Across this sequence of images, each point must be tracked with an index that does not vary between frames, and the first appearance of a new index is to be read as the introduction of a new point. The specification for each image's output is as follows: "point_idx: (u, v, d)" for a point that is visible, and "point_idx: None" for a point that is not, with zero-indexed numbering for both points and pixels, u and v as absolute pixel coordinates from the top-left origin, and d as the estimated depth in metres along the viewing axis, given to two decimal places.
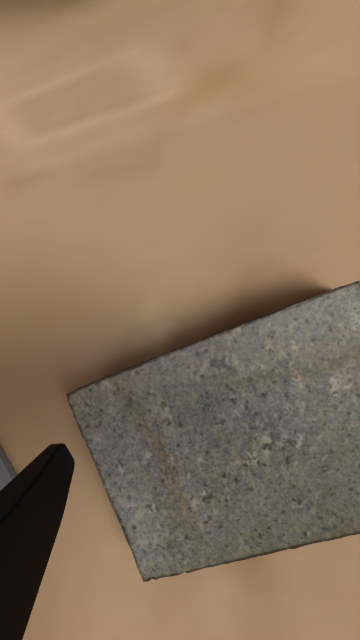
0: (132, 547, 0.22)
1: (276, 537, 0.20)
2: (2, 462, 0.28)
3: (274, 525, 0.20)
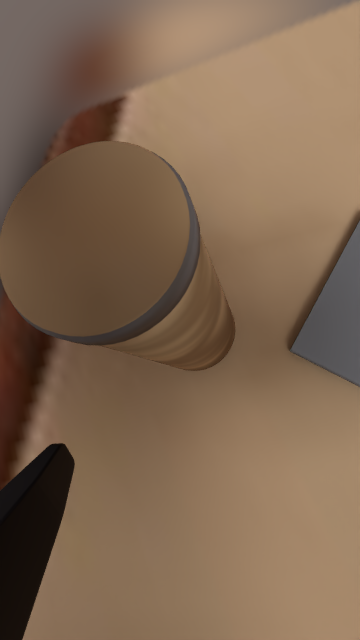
0: None
1: None
2: None
3: None
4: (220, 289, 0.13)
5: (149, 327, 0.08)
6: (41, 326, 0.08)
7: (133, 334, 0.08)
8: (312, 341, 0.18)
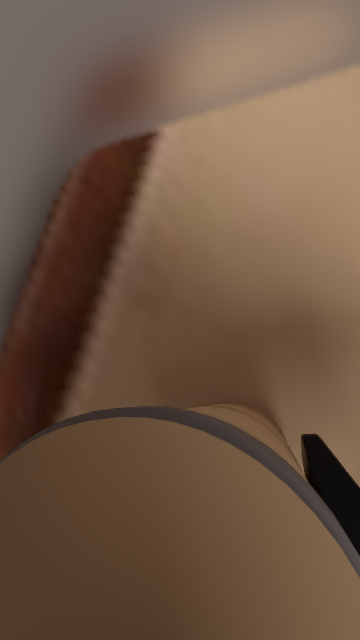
0: None
1: None
2: None
3: None
4: None
5: None
6: None
7: None
8: None
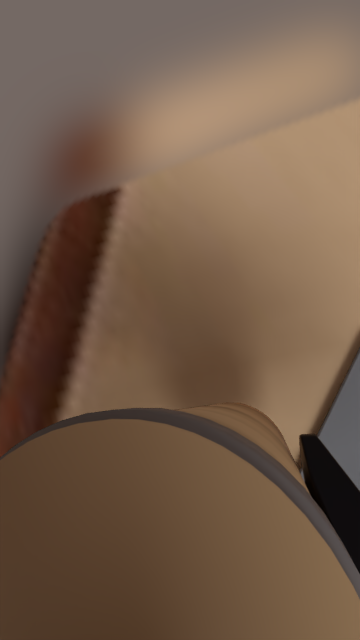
0: None
1: None
2: None
3: None
4: None
5: None
6: None
7: None
8: None
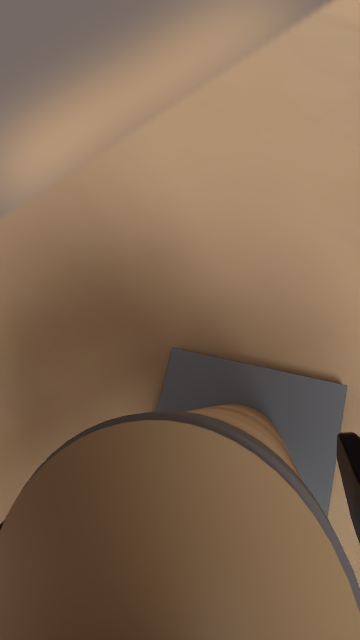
0: None
1: None
2: (331, 483, 0.15)
3: None
4: None
5: None
6: None
7: None
8: None
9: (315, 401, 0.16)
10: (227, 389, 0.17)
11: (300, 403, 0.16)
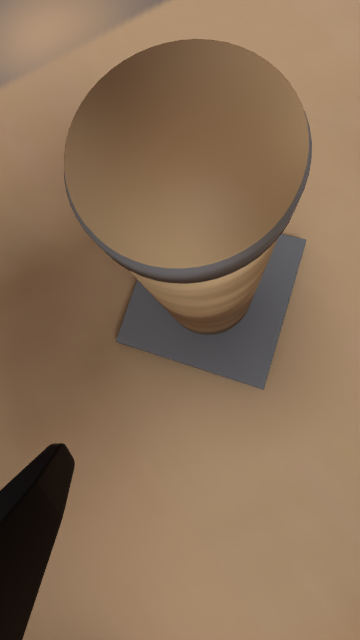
0: None
1: None
2: (284, 313, 0.19)
3: None
4: None
5: (234, 270, 0.07)
6: (115, 249, 0.07)
7: (217, 275, 0.07)
8: (132, 330, 0.20)
9: (279, 251, 0.19)
10: None
11: None
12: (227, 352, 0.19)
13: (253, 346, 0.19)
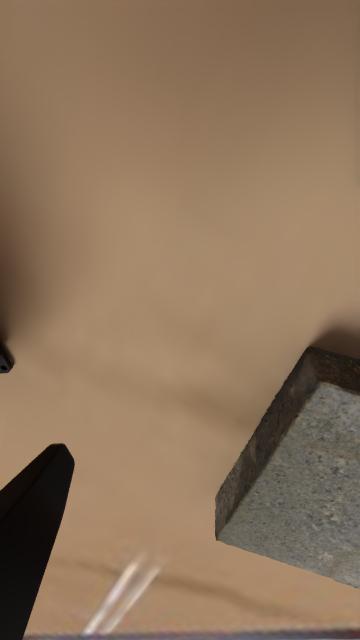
0: (358, 397, 0.18)
1: (268, 480, 0.23)
2: None
3: (277, 485, 0.23)
4: None
5: None
6: None
7: None
8: None
9: None
10: None
11: None
12: None
13: None
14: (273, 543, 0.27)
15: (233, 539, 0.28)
